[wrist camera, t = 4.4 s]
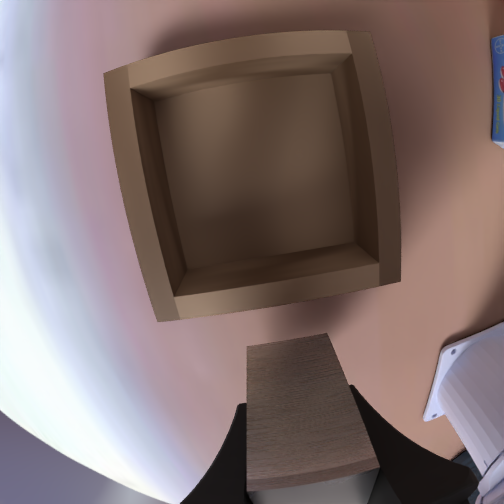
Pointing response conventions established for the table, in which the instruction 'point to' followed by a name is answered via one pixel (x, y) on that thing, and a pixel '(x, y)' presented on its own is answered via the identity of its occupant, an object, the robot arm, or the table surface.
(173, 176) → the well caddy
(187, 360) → the table surface
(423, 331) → the table surface
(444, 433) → the table surface
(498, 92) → the medicine box
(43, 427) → the table surface
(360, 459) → the grey two-tone block
